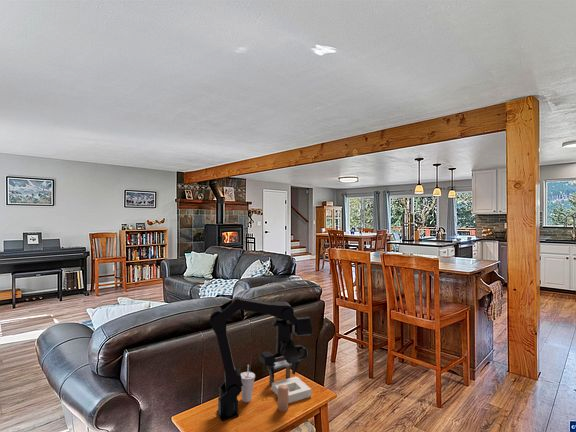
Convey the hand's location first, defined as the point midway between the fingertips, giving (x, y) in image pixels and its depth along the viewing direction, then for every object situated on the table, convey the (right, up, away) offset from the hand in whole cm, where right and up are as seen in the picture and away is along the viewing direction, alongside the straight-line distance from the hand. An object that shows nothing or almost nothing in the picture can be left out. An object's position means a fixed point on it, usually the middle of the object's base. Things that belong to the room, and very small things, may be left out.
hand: (283, 376), depth 127 cm
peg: (0, -12, 0) cm, 12 cm away
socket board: (+4, -12, +10) cm, 16 cm away
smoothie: (-15, -12, +5) cm, 20 cm away
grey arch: (-1, -12, +18) cm, 22 cm away
